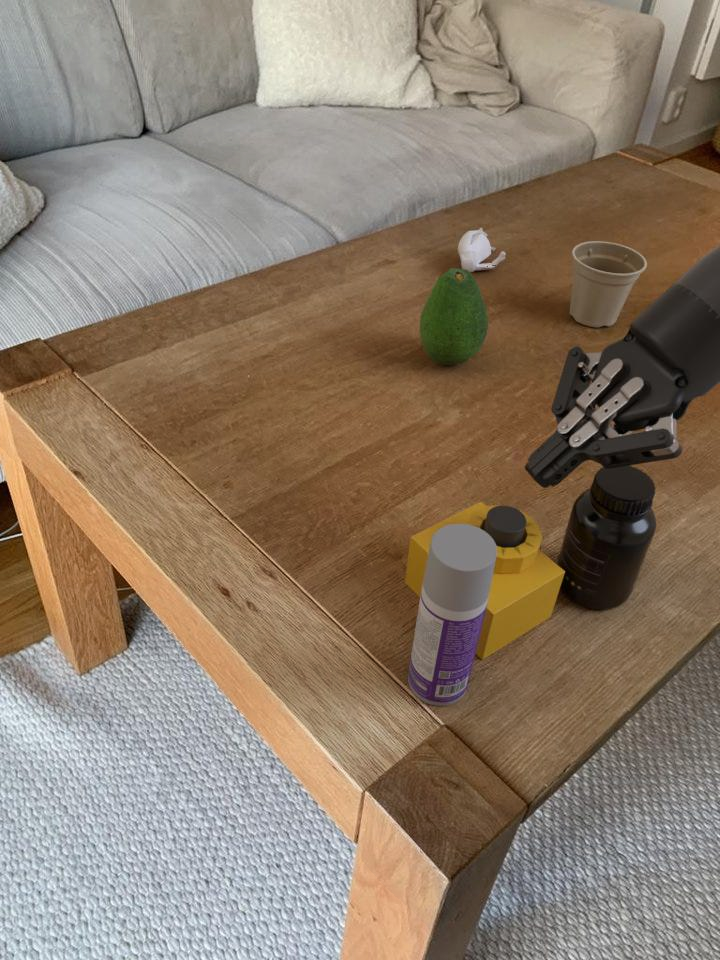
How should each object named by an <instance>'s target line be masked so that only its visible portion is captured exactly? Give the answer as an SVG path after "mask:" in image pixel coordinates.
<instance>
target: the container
mask: <svg viewBox="0 0 720 960" xmlns="http://www.w3.org/2000/svg"><path fill="white" fill-rule="evenodd" d="M496 556H497V546H496V543H495V542H494V540H493V538H492V537H491V536H490V535H489V534H488V533H487V532H485V531H484V530H482V529H480V528H478V527H475V526H472V525H468V524H450V525H447V526H444V527H442V528H440V529H439V530H437V531H436V532H435V533H434V535H433V537H432V539H431V543H430V549H429V554H428V559H427V564H426V569H425V574H424V579H423V585H422V589H421V596H420V597H419V601H418V609H417V616H416V623H415V629H414V635H413V642H412V649H411V654H410V662H409V669H408V675H407V682H408V686H409V688H410V691H412V693H413V695H415V696H416V698H418V699H419V700H420V701H422V702H423V703H425V704H427V705H431V706H434V707H435V706H436V707H447V706H451V705H454V704H455V703H457V702H459V701H460V700H461V699H462V698H463V697H464V696H465V694H466V692H467V689H468V686H469V681H470V677H471V674H472V671H473V670H472V669H473V665H474V662H475V658H476V649H477V645H478V640H479V636H480V632H481V628H482V624H483V620H484V615H485V611H486V607H487V603H488V597H489V592H490V587H491V582H492V576H493V571H494V566H495V561H496Z"/></svg>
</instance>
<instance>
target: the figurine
mask: <svg viewBox="0 0 720 960" xmlns="http://www.w3.org/2000/svg"><path fill="white" fill-rule="evenodd" d="M487 236H488V234H487V233H486V232H485V231H484V228H483V227H479V229H476V230H468V231H467V232H466V233H464V234H463V235H462V237H461V238H460V240H459V242H458V247H457V252H458V256H459V259H460V265H461V269H465V270H468V271H469V272H470V273H474V272H479V271H489V270H493V269H495V268H496V267H497V266H498V265H499V264H500V263H502V262H504V261H505V260H506V252H505V251H501V252H500V253H499V255H498V257H496V258H495V259H494V260H493V261H491V262H492V263H490V262H486V263H485V262H484V263H483V261H484V260H486V259H487V258H488V257H490V255H491V254H492V252H495V251H496V247H493V246H491V243H490V240H489V238H488V237H487ZM481 262H482V263H481ZM492 265H496V266H492ZM487 266H488V267H487Z"/></svg>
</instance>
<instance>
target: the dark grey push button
mask: <svg viewBox="0 0 720 960" xmlns="http://www.w3.org/2000/svg"><path fill="white" fill-rule="evenodd" d="M495 506H496V507H493V508H492V509H490V510H489V511H488V513H487V516H486V521H485V526H484V531H485V532H487V533H488V534H489V535H490V536H491V537H492V538H493V540H494V542H495V543H496V546H499V547H502V548H511V547H515V546H517V545H518V544H520V542H521V541H522V539H523V535H524V531H525V527H526V518H525V516H524V514H523V513H522V512H523V511H522V510H520V509H518V508H515V507H514V506H510V505H504V506H503V505H495ZM519 510H520V511H519ZM521 511H522V512H521Z"/></svg>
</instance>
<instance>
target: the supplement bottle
mask: <svg viewBox="0 0 720 960" xmlns="http://www.w3.org/2000/svg"><path fill="white" fill-rule="evenodd" d="M656 488H657V487H656V484H655V482H654V480H653V478H651V476H650V475H648V473H646V472H644V471H643V470H642V469H640V468H637V467H635V466H633V465H630V466H623V467H617V468H611V469H606V468H604V467H603V466H601V467H600V468H599V469H598V470H596V473H595V475H594V476H593V480H592V483H591V484H590V487H589V488H588V489H586V490H585V491H583V492H582V493H580V494H579V495H578V496H577V497H576V499H575V500H574V503H573V505H572V508H571V511H570V515H569V518H568V522H567V525H566V529H565V532H564V536H563V540H562V543H561V547H560V550H559V554H558V557H557V562H556V564H557V565H558V566H559V567H560V568H562V569H563V570H564V571H565V574H564V577H563V580H562V583H561V586H560V589H559V590H560V591H561V592H562V594H564V595H565V596H566V597H567V598H568V599H569V600H571V601H572V603H575V604H577V605H579V606H581V607H584V608H586V609H591V610H599V611H603V610H604V611H605V610H611V609H614V608H617V607H619V606H621V605H623V604H625V602H626V601H628V599H629V598H630V596H631V595H632V593H633V590H634V588H635V585H636V583H637V580H638V578H639V575H640V572H641V570H642V567H643V564H644V562H645V559H646V556H647V554H648V551H649V549H650V546H651V544H652V540H653V538H654V535H655V533H656V529H657V518H656V514H655V512H654V509H653V508H652V506H653V502H654V497H655V494H656Z"/></svg>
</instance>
